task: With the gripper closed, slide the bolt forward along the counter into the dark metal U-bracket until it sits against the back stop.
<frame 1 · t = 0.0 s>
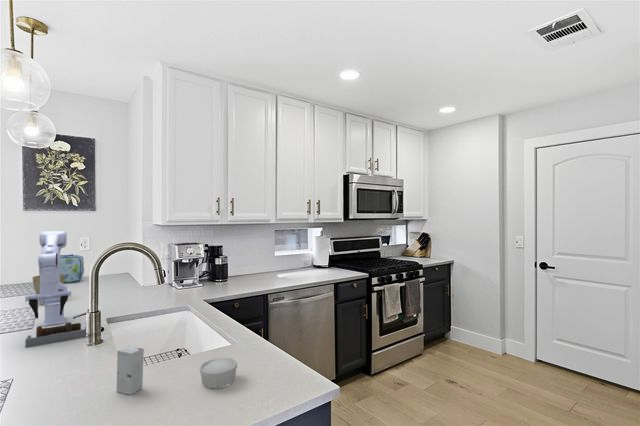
hand: (49, 316, 138), 10 cm above the countertop, tool pointing down, fingers open, 7 cm apart
bolt: (59, 335, 145), on the countertop
lunch box: (62, 283, 252), on the countertop
plant pot: (49, 303, 195), on the countertop
bracket: (58, 338, 141), on the countertop
skincare box: (130, 390, 100), on the countertop
ramekin: (218, 382, 105), on the countertop
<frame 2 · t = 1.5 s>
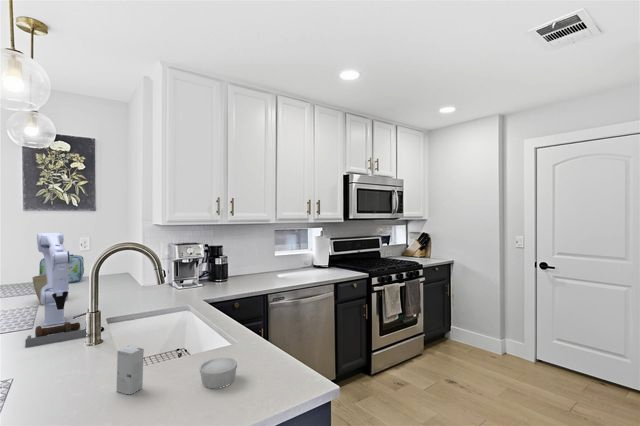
hand: (60, 309, 151), 9 cm above the countertop, tool pointing down, fingers closed
nothing on the countertop moved.
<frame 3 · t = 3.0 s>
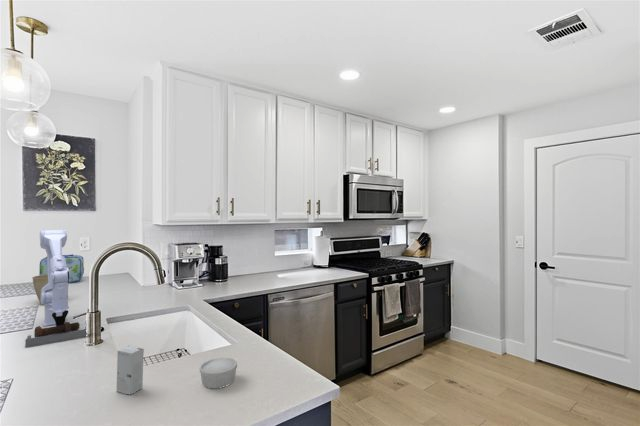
hand: (60, 328, 149), 1 cm above the countertop, tool pointing down, fingers closed
bolt: (58, 335, 145), on the countertop, touching gripper
everything else where it was.
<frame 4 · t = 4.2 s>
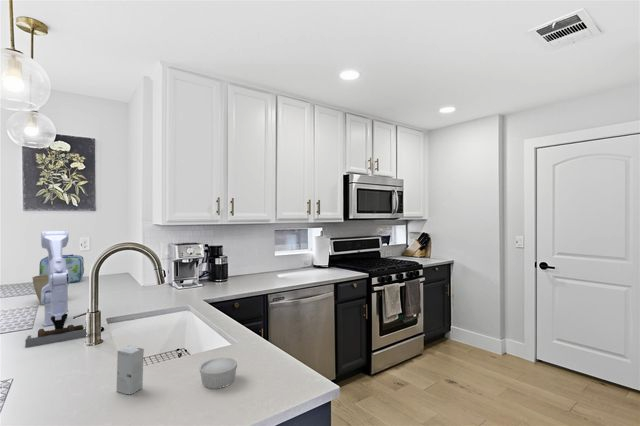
hand: (59, 332, 144), 1 cm above the countertop, tool pointing down, fingers closed
bolt: (61, 338, 142), on the countertop, touching gripper
everything else where it was.
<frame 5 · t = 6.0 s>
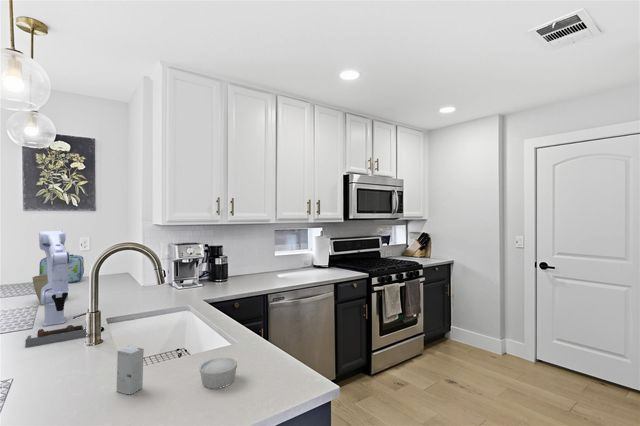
hand: (60, 310, 148), 9 cm above the countertop, tool pointing down, fingers closed
bolt: (61, 338, 142), on the countertop
everything else where it was.
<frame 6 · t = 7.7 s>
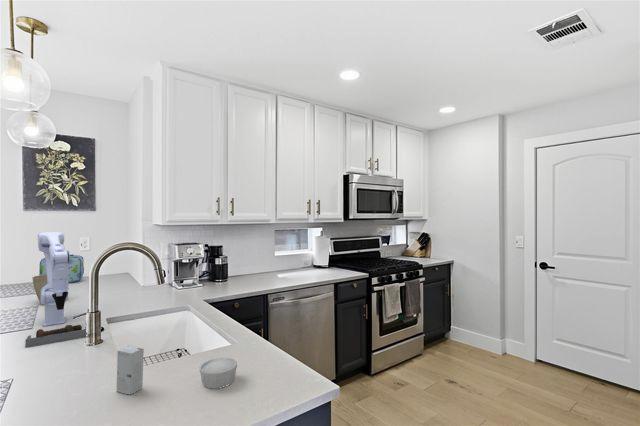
hand: (60, 309, 150), 9 cm above the countertop, tool pointing down, fingers closed
at the end: bolt 0.8 cm off-centre on the bracket, point -0.5 cm above the bracket's base; bolt moved 4.2 cm from its start; the gripper is holding nothing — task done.
